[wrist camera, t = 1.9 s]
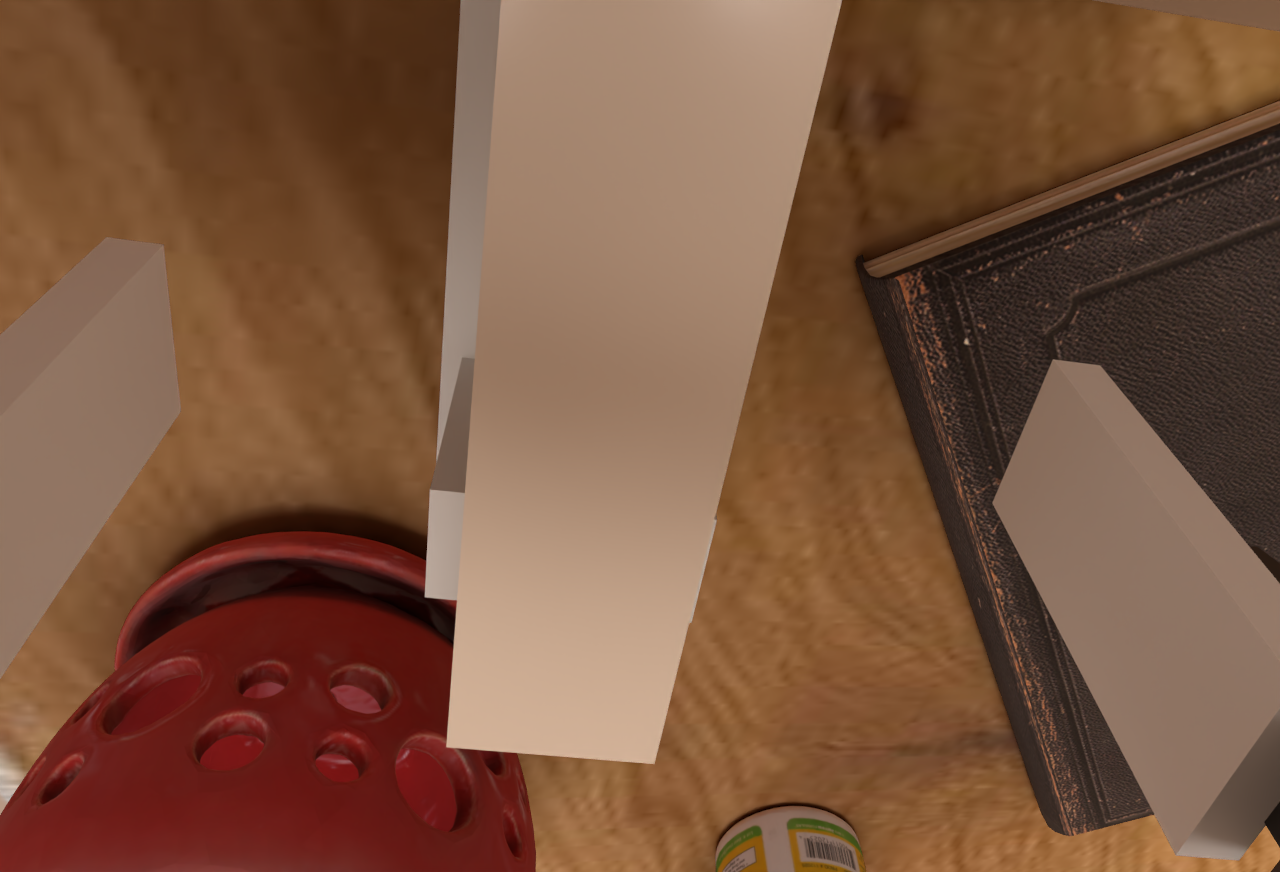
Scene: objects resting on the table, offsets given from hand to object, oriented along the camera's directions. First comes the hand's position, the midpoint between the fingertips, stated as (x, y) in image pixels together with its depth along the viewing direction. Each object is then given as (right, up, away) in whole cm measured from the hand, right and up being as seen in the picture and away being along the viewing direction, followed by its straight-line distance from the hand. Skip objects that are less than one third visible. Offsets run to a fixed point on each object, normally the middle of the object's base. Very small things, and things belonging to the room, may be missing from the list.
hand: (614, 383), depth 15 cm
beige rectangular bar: (0, +2, +3) cm, 4 cm away
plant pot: (-9, -7, +17) cm, 20 cm away
